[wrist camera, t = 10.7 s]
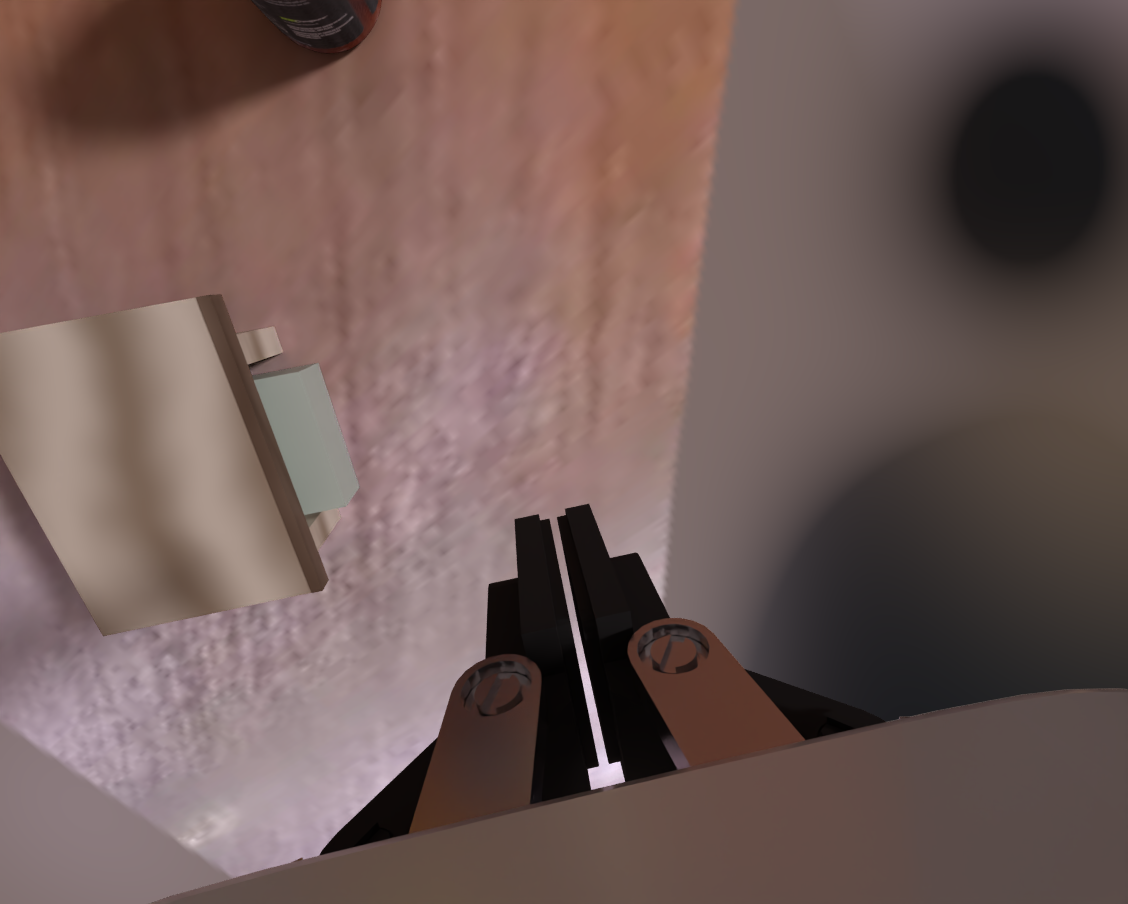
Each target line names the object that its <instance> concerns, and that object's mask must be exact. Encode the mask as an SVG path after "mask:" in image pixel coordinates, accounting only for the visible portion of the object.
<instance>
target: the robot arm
mask: <svg viewBox="0 0 1128 904" xmlns="http://www.w3.org/2000/svg"><path fill="white" fill-rule="evenodd" d="M565 512H566V515H564V516H560V517H557V520H558V525H559V530H560V535H561V540H562V545H563V550H564V555H565V561H566V566H567V571H568V576H569V581H570V586H571V591H572V596H573V601H574V606H575V612H576V617H577V622H578V626H579V631H580V636H581V640H582V645H583V649H584V654H585V658H586V663H587V668H588V672H589V677H590V681H591V686H592V690H593V695H594V699H595V704H596V708H597V713H598V717H599V722H600V726H601V731H602V735H603V740H604V745H605V749H606V754H607V758H608V762H609V764H611V763H615V762H619V761H620V762H621V766H622V770H623V774H624V778H625V782H624V783H619V784H615V785H611V786H607V787H602V788H598V789H594V790H591V787H590V781H589V775H588V769H589V768H593V767H598V766H599V763H598V758H597V753H596V748H595V743H594V738H593V733H592V728H591V723H590V718H589V713H588V708H587V703H586V698H585V693H584V688H583V683H582V678H581V673H580V668H579V663H578V658H577V653H576V648H575V643H574V638H573V633H572V628H571V623H570V618H569V614H568V609H567V604H566V599H565V594H564V589H563V584H562V579H561V574H560V569H559V564H558V559H557V554H556V549H555V544H554V539H553V534H552V529H551V524H550V519H545V520H540V518H539V514H538V515H533V516H528V517H523V518H518V519H515V535H516V552H517V570H518V578H514V579H510V580H505V581H500V582H495V583H491V584H489V587H488V608H487V633H486V658H485V660H482V661H480V662H478V663H476V664H475V665H473V666H472V667H471V668H469V669H468V670H466V671H465V672H464V674H463V675H462V676H461V677H460V678H459V679H458V680H457V682H456V684H455V686H454V688H453V690H452V692H451V696H450V699H449V702H448V705H447V709H446V712H445V715H444V719H443V722H442V725H441V728H440V732H439V735H438V737H437V738H436V739H435V740H434V741H433V742H432V743H431V744H430V745H429V746H428V747H427V748H426V749H425V750H424V751H423V752H422V753H421V754H420V755H419V756H418V757H417V758H415V759H414V760H413V761H412V762H411V763H410V764H409V765H408V766H407V767H406V768H405V769H404V770H403V771H402V772H401V773H400V774H399V775H398V776H397V777H396V778H394V779H393V780H392V781H391V782H390V783H389V784H388V785H387V786H386V787H385V788H384V789H383V790H382V791H381V792H380V793H379V794H378V795H377V796H376V797H375V798H373V799H372V800H371V801H370V802H369V803H368V804H367V805H366V806H365V807H364V808H363V809H362V810H361V811H360V812H359V813H358V814H357V815H356V816H355V817H354V818H353V819H351V820H350V821H349V822H348V823H347V824H346V825H345V826H344V827H343V828H342V829H341V830H340V831H339V832H338V833H337V834H336V835H335V836H334V837H333V838H332V840H331V841H330V842H329V843H328V844H327V845H326V846H325V848H324V849H323V850H322V852H321V853H320V855H319V856H316V857H312V858H308V859H304V860H303V858H300V859H298V860H296V861H294V862H291V863H288V864H284V865H280V866H276V867H272V868H268V869H264V870H261V871H257V872H254V873H250V874H247V875H243V876H239V877H236V878H232V879H229V880H225V881H222V882H219V883H215V884H211V885H208V886H204V887H201V888H198V889H194V890H190V891H187V892H183V893H180V894H176V895H172V896H169V897H166V898H163V899H160V900H158V901H155V902H152V903H149V904H1128V689H1069V690H1060V691H1050V692H1041V693H1032V694H1023V695H1018V696H1013V697H1007V698H1002V699H997V700H991V701H986V702H981V703H975V704H970V705H965V706H959V707H954V708H948V709H944V710H938V711H933V712H929V713H925V714H920V715H916V716H911V717H899V719H898V720H894V721H889V722H885V721H884V720H882V719H881V718H879V717H877V716H874V715H872V714H870V713H868V712H866V711H864V710H861V709H858V708H855V707H852V706H849V705H847V704H844V703H841V702H838V701H835V700H832V699H829V698H826V697H824V696H820V695H818V694H815V693H812V692H809V691H806V690H804V689H800V688H798V687H795V686H792V685H789V684H786V683H783V682H781V681H777V680H775V679H772V678H769V677H766V676H763V675H760V674H758V673H755V672H752V671H748V670H746V669H744V668H743V667H742V666H741V665H740V664H739V663H738V661H737V660H736V659H735V658H734V657H733V656H732V654H731V653H730V652H729V651H728V650H727V649H726V647H725V646H724V645H723V644H722V643H721V642H720V641H719V639H717V637H716V636H715V635H714V633H712V632H711V631H710V630H709V629H707V628H706V627H705V626H704V625H701V624H699V623H697V622H694V621H691V620H687V619H682V618H670V617H669V615H668V613H667V611H666V609H665V607H664V605H663V603H662V601H661V599H660V597H659V595H658V593H657V591H656V589H655V587H654V585H653V583H652V581H651V579H650V577H649V575H648V573H647V570H646V568H645V566H644V564H643V562H642V560H641V558H640V556H639V555H638V553H632V554H627V555H622V556H618V557H613V558H610V557H609V554H608V552H607V549H606V547H605V544H604V541H603V539H602V536H601V534H600V531H599V528H598V526H597V523H596V521H595V518H594V515H593V513H592V510H591V508H590V505H589V504H586V505H581V506H576V507H571V508H567V509H565Z"/></svg>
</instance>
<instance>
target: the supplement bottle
mask: <svg viewBox="0 0 1128 904" xmlns="http://www.w3.org/2000/svg"><path fill="white" fill-rule="evenodd" d="M252 2H253V3H254V4H255V5H256V6H257V7H258V8H259V9H260V10H261V11H262V12H263V13H264V14H265V15H266V16H267V18H268V19H269V20H270V21H271V22H272V23H273V24H274V25H275V26H276V27H277V28H278V29H279V30H280V31H281V32H283V33H284V34H285V35H286V36H287V37H289V38H290V39H291V40H293V41H294V42H296V43H297V44H298V45H300V46H302V47H305V48H308V49H310V50H313V51H317V52H320V53H338V52H342V51H345V50H349V49H351V48H353V47H355V46H356V45H358V44H359V43H360V42H361V41H363V40H364V39H365V38H366V36H367V35H368V34H369V33H370V31H371V30H372V28H373V27H374V25H375V23H376V20H377V18H378V16H379V13H380V8H381V2H382V0H252Z"/></svg>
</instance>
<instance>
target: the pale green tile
mask: <svg viewBox="0 0 1128 904" xmlns="http://www.w3.org/2000/svg"><path fill="white" fill-rule="evenodd" d="M252 377H253V380H254V383H255V385H256V388H257V391H258V393H259V396H260V399H261V401H262V404H263V407H264V409H265V412H266V414H267V417H268V420H269V422H270V425H271V428H272V430H273V433H274V436H275V438H276V441H277V444H278V446H279V449H280V452H281V454H282V457H283V460H284V462H285V465H286V468H287V470H288V473H289V476H290V478H291V481H292V484H293V486H294V489H295V492H296V494H297V497H298V500H299V502H300V505H301V508H302V510H303V513H304V515H307V514H312V513H317V512H322V511H327V510H331V509H336V508H341V507H346V506H347V505H348V503H349V502H350V500H351V499H352V497H353V496H354V494H355V493H356V491H357V490H358V489H359V484H358V481H357V478H356V475H355V472H354V469H353V466H352V463H351V460H350V457H349V454H348V451H347V448H346V445H345V442H344V439H343V436H342V433H341V430H340V427H339V424H338V421H337V418H336V415H335V412H334V409H333V406H332V403H331V400H330V397H329V394H328V391H327V388H326V385H325V382H324V379H323V376H322V373H321V370H320V367H319V364H318V363H315V364H310V365H304V366H299V367H294V368H289V369H284V370H278V371H273V372H268V373H263V374H258V375H253V376H252Z"/></svg>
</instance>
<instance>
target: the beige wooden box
mask: <svg viewBox="0 0 1128 904" xmlns="http://www.w3.org/2000/svg"><path fill="white" fill-rule="evenodd" d="M280 353H283V350H282V347H281V345H280V342H279V339H278V336H277V333H276V330H275V327H274V326H273V327H268V328H262V329H257V330H252V331H246V332H241V333H236V332H235V329H234V327H233V324H232V321H231V319H230V316H229V313H228V311H227V308H226V305H225V303H224V300H223V297H222V295H221V294H218V295H207V296H201V297H196V298H191V299H185V300H180V301H174V302H169V303H163V304H158V305H152V306H147V307H141V308H136V309H130V310H125V311H119V312H114V313H108V314H103V315H97V316H92V317H87V318H81V319H76V320H70V321H65V322H59V323H54V324H48V325H43V326H37V327H32V328H26V329H21V330H15V331H10V332H4V333H0V455H1V456H2V458H3V460H4V462H5V464H6V465H7V467H8V469H9V471H10V472H11V474H12V476H13V478H14V479H15V481H16V483H17V485H18V487H19V488H20V490H21V492H22V494H23V495H24V497H25V499H26V501H27V502H28V504H29V506H30V508H31V510H32V511H33V513H34V515H35V517H36V518H37V520H38V522H39V524H40V525H41V527H42V529H43V531H44V533H45V534H46V536H47V538H48V540H49V541H50V543H51V545H52V547H53V548H54V550H55V552H56V554H57V556H58V557H59V559H60V561H61V563H62V564H63V566H64V568H65V570H66V572H67V573H68V575H69V577H70V579H71V580H72V582H73V584H74V586H75V587H76V589H77V591H78V593H79V595H80V596H81V598H82V600H83V602H84V603H85V605H86V607H87V609H88V610H89V612H90V614H91V616H92V618H93V619H94V621H95V623H96V625H97V626H98V628H99V630H100V632H101V633H102V635H103V636H107V635H111V634H116V633H121V632H126V631H130V630H135V629H140V628H145V627H150V626H154V625H159V624H164V623H169V622H173V621H178V620H183V619H188V618H193V617H197V616H202V615H207V614H212V613H216V612H221V611H226V610H231V609H235V608H240V607H245V606H250V605H255V604H259V603H264V602H269V601H274V600H278V599H283V598H288V597H293V596H297V595H302V594H307V593H314V592H319V591H323V589H324V587H325V585H326V584H327V582H328V580H329V579H328V577H327V574H326V571H325V569H324V566H323V563H322V561H321V558H320V555H319V553H318V551H319V549H320V548H321V546H322V545H323V543H324V542H325V540H326V539H327V537H328V536H329V534H330V533H331V531H332V530H333V528H334V527H335V526H336V524H337V523H338V521H339V520H340V518H341V516H340V513H339V510H338V508H336V509H331V510H327V511H322V512H317V513H312V514H307V515H304V513H303V510H302V508H301V505H300V502H299V500H298V497H297V494H296V492H295V489H294V486H293V484H292V481H291V478H290V476H289V473H288V470H287V468H286V465H285V462H284V460H283V457H282V454H281V452H280V449H279V446H278V444H277V441H276V438H275V436H274V433H273V430H272V428H271V425H270V422H269V420H268V417H267V414H266V412H265V409H264V407H263V404H262V401H261V399H260V396H259V393H258V391H257V388H256V385H255V383H254V380H253V377H252V375H251V372H250V369H249V367H248V364H251V363H254V362H257V361H260V360H263V359H266V358H269V357H272V356H274V355H277V354H280Z"/></svg>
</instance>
